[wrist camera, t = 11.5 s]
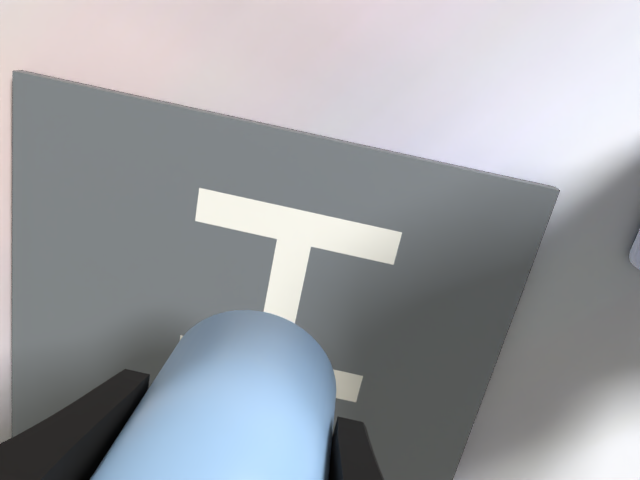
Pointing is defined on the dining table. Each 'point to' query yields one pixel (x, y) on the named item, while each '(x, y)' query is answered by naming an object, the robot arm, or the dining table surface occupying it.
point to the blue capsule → (232, 407)
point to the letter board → (260, 258)
